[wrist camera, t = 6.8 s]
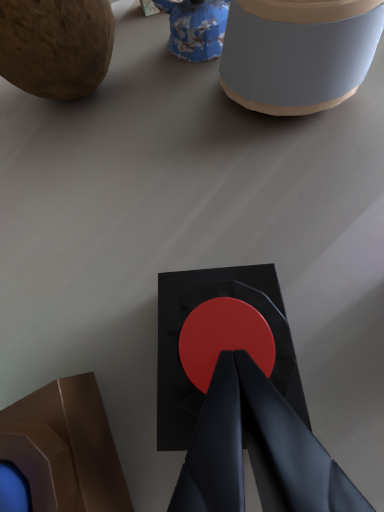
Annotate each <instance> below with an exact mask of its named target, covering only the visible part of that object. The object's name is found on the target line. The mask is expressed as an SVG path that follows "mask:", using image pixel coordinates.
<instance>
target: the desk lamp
mask: <svg viewBox="0 0 384 512" xmlns="http://www.w3.org/2000/svg"><path fill="white" fill-rule="evenodd" d="M383 27H384V0H230V6H229V11H228V17H227V22H226V28H225V34H224V39H223V45H222V50H221V56H220V64H219V73H220V80H219V82H220V84H221V85H222V87H223V89H224V90H225V92H226V94H227V96H228V97H230V98H231V99H233V100H234V101H236V102H237V103H239V104H241V105H242V106H244V107H245V108H247V109H250V110H254V111H258V112H262V113H266V114H270V115H274V116H296V115H309V114H312V113H316V112H319V111H323V110H326V109H330V108H333V107H336V106H337V105H339V104H340V103H342V102H343V101H344V100H346V99H347V98H349V97H350V96H351V95H353V94H354V93H356V90H357V88H358V86H359V84H360V83H362V82H363V80H364V78H365V75H366V73H367V71H368V69H369V66H370V64H371V61H372V58H373V55H374V53H375V50H376V47H377V44H378V41H379V39H380V36H381V33H382V30H383Z"/></svg>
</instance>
